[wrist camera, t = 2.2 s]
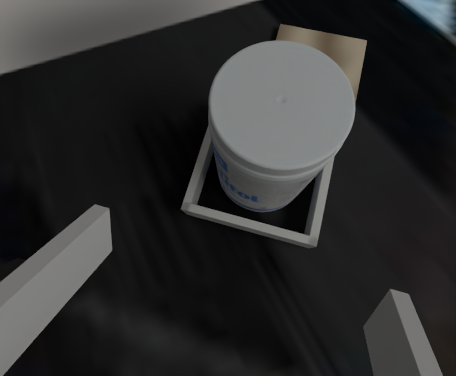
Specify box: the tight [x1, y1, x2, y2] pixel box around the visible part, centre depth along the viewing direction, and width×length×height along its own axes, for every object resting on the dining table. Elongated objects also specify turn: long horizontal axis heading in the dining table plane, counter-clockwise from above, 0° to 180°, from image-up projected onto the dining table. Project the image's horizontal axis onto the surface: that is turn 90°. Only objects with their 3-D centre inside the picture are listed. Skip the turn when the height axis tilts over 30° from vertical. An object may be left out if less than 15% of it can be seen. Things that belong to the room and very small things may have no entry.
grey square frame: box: [181, 125, 334, 248], centre depth 30 cm, size 14×14×3 cm
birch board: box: [276, 24, 367, 102], centre depth 34 cm, size 11×11×1 cm
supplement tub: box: [208, 41, 355, 212], centre depth 24 cm, size 10×10×15 cm
